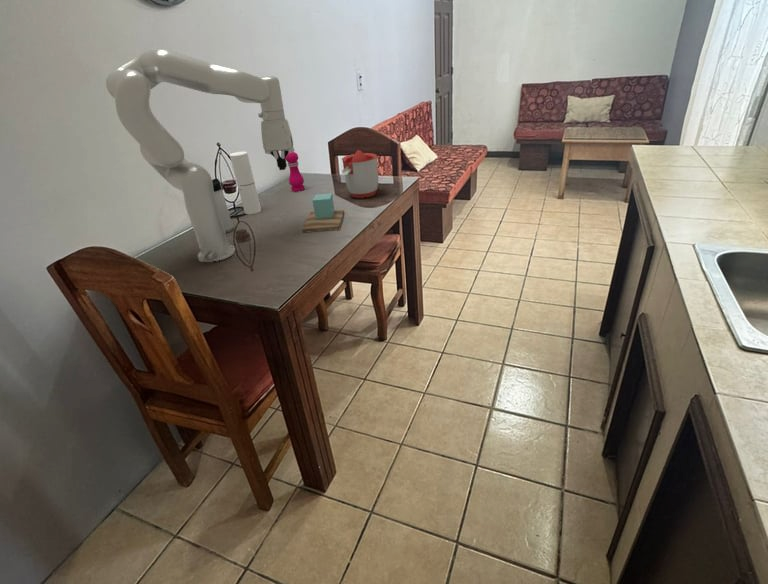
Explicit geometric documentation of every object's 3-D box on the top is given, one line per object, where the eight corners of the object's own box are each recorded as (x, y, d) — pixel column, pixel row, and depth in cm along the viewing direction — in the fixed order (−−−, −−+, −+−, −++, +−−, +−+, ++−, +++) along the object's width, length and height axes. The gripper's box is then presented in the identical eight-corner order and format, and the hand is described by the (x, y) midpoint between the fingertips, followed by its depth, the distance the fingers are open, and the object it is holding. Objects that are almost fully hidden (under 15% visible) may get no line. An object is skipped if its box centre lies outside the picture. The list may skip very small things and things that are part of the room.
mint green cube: (332, 217, 166) (329, 199, 162) (315, 218, 166) (312, 200, 163) (334, 211, 172) (331, 193, 168) (318, 212, 172) (315, 194, 168)
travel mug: (237, 227, 170) (223, 178, 160) (227, 234, 165) (212, 183, 154) (224, 227, 172) (209, 178, 161) (214, 233, 166) (198, 183, 156)
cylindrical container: (256, 214, 182) (242, 155, 169) (242, 214, 184) (226, 156, 171) (264, 208, 188) (250, 151, 175) (249, 208, 190) (234, 151, 177)
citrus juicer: (336, 197, 192) (330, 153, 182) (364, 187, 202) (359, 144, 192) (359, 203, 182) (354, 156, 172) (387, 192, 192) (383, 147, 182)
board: (339, 229, 158) (339, 226, 158) (303, 232, 159) (302, 228, 158) (344, 213, 174) (343, 209, 173) (311, 215, 175) (310, 212, 174)
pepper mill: (288, 192, 206) (279, 150, 196) (295, 187, 212) (287, 146, 202) (301, 192, 204) (293, 150, 194) (307, 187, 210) (300, 146, 200)
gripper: (249, 118, 144) (260, 172, 153) (292, 116, 143) (300, 170, 152) (256, 116, 151) (266, 167, 160) (297, 113, 150) (304, 166, 159)
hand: (282, 169), depth 156 cm, fingers closed
